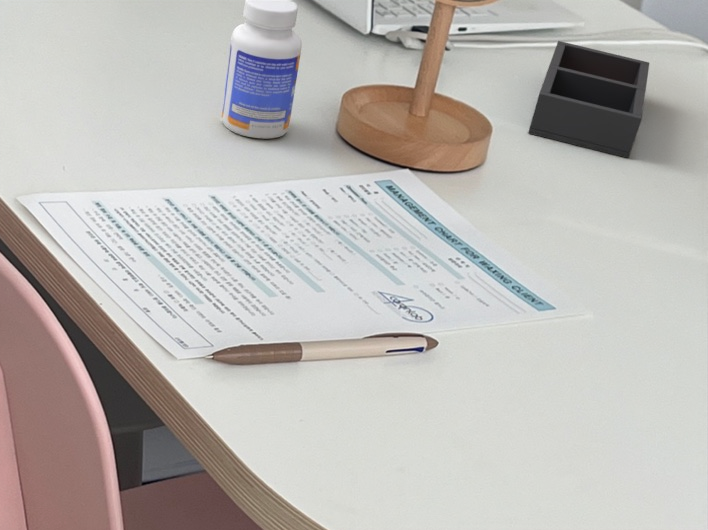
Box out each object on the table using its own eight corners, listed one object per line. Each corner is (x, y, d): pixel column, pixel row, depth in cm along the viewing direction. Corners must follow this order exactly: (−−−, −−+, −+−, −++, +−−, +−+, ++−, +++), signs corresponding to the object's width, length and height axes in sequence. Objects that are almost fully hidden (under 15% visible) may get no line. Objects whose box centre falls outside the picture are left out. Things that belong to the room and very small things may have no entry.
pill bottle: (299, 139, 102) (321, 14, 96) (238, 142, 100) (257, 15, 94) (268, 111, 106) (287, -10, 100) (208, 114, 103) (225, -10, 98)
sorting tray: (547, 76, 124) (558, 40, 122) (637, 98, 123) (649, 62, 121) (528, 133, 111) (539, 93, 109) (628, 158, 109) (641, 118, 107)
